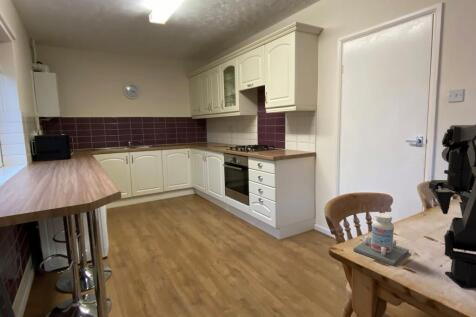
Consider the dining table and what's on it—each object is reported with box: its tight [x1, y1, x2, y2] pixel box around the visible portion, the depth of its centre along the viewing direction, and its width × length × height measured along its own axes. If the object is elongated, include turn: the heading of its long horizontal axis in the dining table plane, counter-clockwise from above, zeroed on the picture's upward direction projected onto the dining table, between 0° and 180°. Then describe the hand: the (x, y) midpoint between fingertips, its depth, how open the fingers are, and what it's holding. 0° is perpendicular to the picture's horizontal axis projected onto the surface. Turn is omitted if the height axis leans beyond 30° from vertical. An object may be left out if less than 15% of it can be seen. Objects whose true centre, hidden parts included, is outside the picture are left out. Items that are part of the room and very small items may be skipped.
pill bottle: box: [370, 212, 395, 253], centre depth 86 cm, size 6×6×11 cm
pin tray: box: [352, 235, 410, 267], centre depth 87 cm, size 12×12×4 cm
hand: (455, 219), depth 81 cm, fingers open, 9 cm apart
